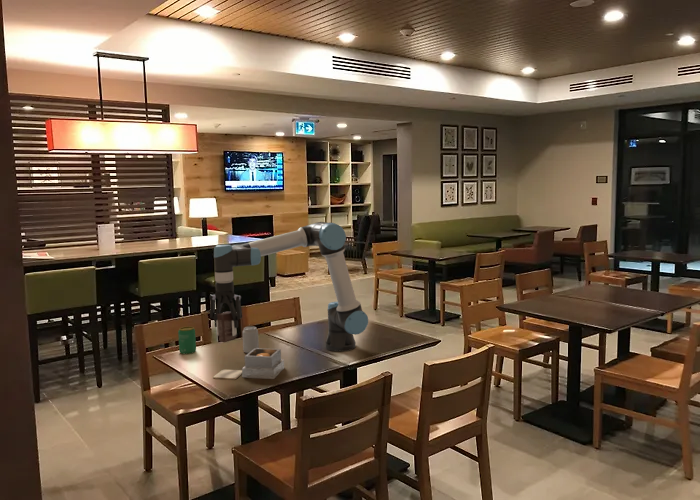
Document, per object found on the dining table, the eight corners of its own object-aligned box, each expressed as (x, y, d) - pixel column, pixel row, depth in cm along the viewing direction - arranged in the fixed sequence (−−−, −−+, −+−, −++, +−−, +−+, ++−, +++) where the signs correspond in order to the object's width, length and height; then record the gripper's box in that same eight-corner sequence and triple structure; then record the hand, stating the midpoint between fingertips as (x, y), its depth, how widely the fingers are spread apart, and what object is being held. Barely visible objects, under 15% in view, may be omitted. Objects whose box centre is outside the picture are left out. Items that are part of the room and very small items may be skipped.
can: (255, 354, 271) (254, 329, 270) (241, 353, 273) (239, 329, 271) (261, 349, 279) (260, 326, 277) (246, 349, 280) (245, 325, 279)
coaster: (244, 371, 246) (244, 370, 246) (235, 379, 236) (235, 378, 236) (222, 370, 248) (222, 369, 248) (212, 378, 238) (212, 377, 238)
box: (229, 338, 244) (228, 310, 242) (235, 339, 241) (234, 312, 240) (217, 341, 239) (216, 313, 238) (224, 342, 236) (223, 314, 235)
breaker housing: (284, 368, 250) (283, 348, 249) (273, 379, 236) (273, 358, 235) (254, 366, 252) (253, 347, 251) (242, 377, 239) (241, 356, 238)
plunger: (271, 361, 246) (271, 353, 245) (267, 365, 240) (267, 357, 240) (259, 360, 247) (259, 352, 246) (254, 364, 241) (254, 356, 241)
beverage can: (199, 350, 279) (198, 327, 277) (188, 355, 272) (187, 331, 270) (187, 349, 282) (185, 325, 281) (175, 353, 275) (174, 329, 274)
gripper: (249, 280, 239) (251, 333, 242) (207, 279, 243) (209, 331, 245) (242, 283, 232) (244, 338, 234) (199, 282, 235) (201, 336, 238)
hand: (226, 334), depth 240 cm, fingers closed on box, 6 cm apart
